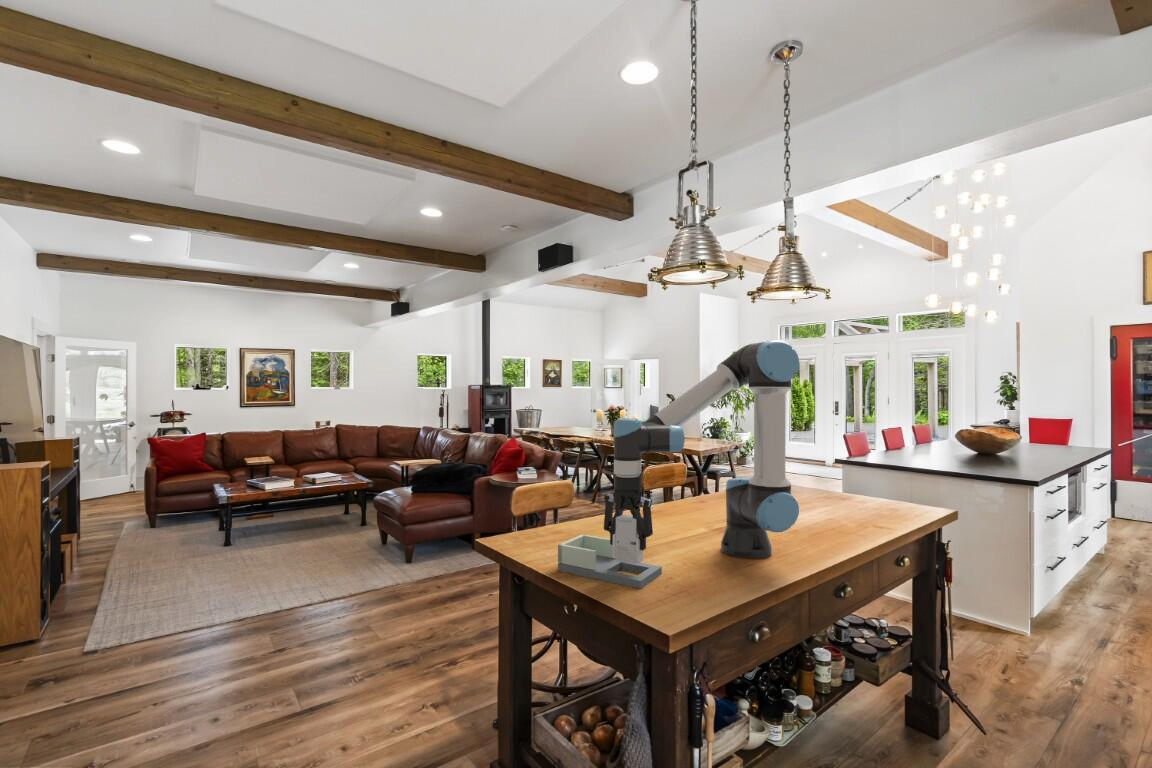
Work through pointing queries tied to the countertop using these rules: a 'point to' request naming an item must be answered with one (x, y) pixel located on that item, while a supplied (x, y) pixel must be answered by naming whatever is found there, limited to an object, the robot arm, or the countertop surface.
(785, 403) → the robot arm
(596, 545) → the housing
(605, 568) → the board
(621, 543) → the skincare box
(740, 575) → the countertop surface
